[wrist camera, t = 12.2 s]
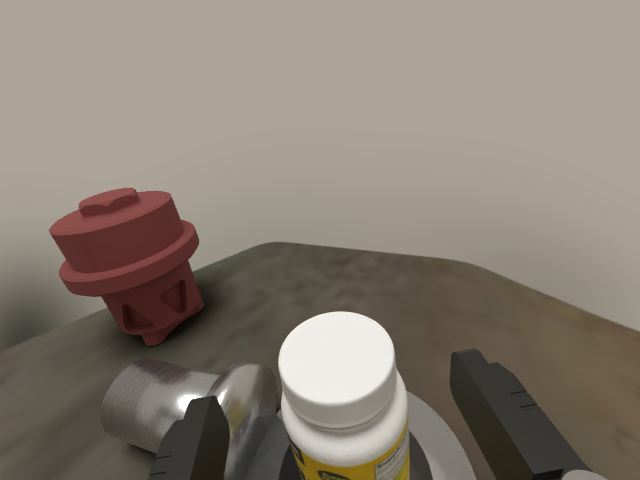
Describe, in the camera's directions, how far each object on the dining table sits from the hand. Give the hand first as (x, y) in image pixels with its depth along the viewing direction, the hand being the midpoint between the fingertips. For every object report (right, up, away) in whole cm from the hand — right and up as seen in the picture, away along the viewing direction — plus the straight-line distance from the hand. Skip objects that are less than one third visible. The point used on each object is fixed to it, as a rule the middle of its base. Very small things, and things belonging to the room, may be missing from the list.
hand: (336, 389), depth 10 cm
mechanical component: (-15, -3, +18) cm, 24 cm away
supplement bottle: (+1, -6, +4) cm, 7 cm away
